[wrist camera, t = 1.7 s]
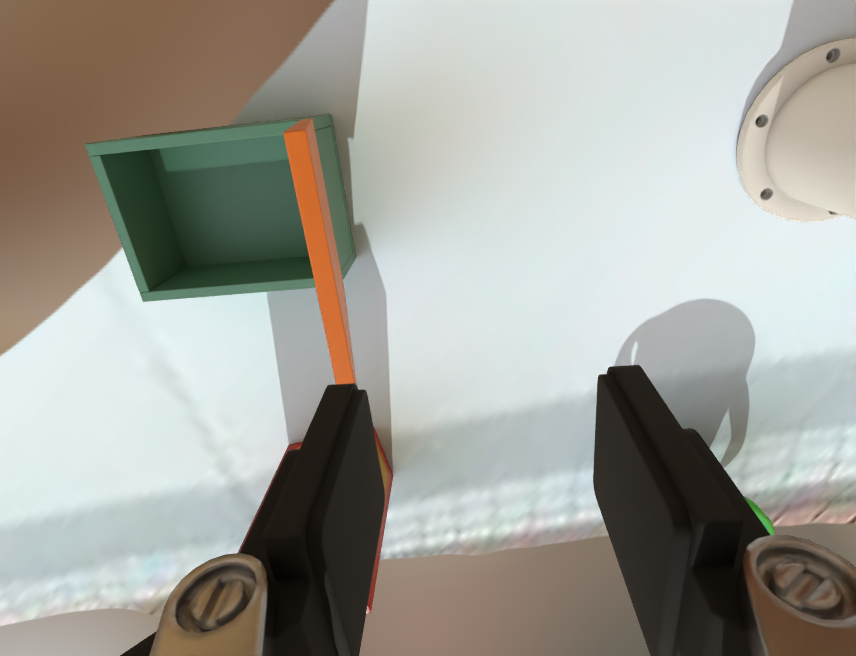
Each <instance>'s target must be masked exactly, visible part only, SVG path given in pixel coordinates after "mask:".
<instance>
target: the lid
mask: <svg viewBox="0 0 856 656" xmlns="http://www.w3.org/2000/svg"><path fill="white" fill-rule="evenodd" d="M283 135H284V139H285V144H286V149H287V154H288V158H289V163H290V168H291V172H292V177H293V182H294V187H295V191H296V196H297V201H298V206H299V210H300V215H301V220H302V225H303V229H304V234H305V239H306V244H307V248H308V253H309V258H310V262H311V267H312V272H313V277H314V281H315V286H316V291H317V296H318V300H319V305H320V310H321V315H322V319H323V324H324V329H325V333H326V338H327V343H328V348H329V352H330V357H331V362H332V367H333V371H334V376H335V381H336V384H351V383H355V384H356V377H355V369H354V361H353V354H352V346H351V338H350V331H349V323H348V315H347V308H346V300H345V292H344V285H343V280H342V274H341V269H340V264H339V258H338V253H337V247H336V242H335V237H334V231H333V226H332V221H331V215H330V210H329V204H328V199H327V194H326V188H325V183H324V178H323V172H322V167H321V161H320V156H319V151H318V145H317V140H316V135H315V129H314V124H313V119H312V118H311V119H303V120H300V121H298V122H297V123H296V124H294V125H293V126H292V127H290V128H289V129H288V130H286V131H285V132H284V133H283ZM356 386H357V385H356Z"/></svg>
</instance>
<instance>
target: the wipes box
mask: <svg viewBox="0 0 856 656" xmlns="http://www.w3.org/2000/svg"><path fill="white" fill-rule="evenodd" d="M311 118H312V119H313V124H314V129H315V135H316V140H317V145H318V151H319V156H320V161H321V167H322V172H323V178H324V183H325V188H326V194H327V199H328V204H329V210H330V215H331V221H332V226H333V231H334V237H335V242H336V247H337V253H338V258H339V264H340V269H341V274H342V280H343V279H344V277H345V275H346V274H347V272H348V270H349V269H350V267H351V265H352V264H353V262H354V260H355V259H356V256H355V250H354V245H353V239H352V233H351V227H350V221H349V215H348V209H347V204H346V198H345V192H344V186H343V180H342V174H341V169H340V163H339V157H338V151H337V145H336V139H335V133H334V128H333V122H332V116H331V114H328V115H319V116H311V117H302V118H293V119H284V120H275V121H266V122H258V123H249V124H240V125H231V126H222V127H213V128H204V129H196V130H187V131H178V132H169V133H160V134H152V135H143V136H136V137H129V138H122V139H115V140H108V141H101V142H94V143H88V144H85V146H86V149H87V152H88V154H89V156H90V160H91V163H92V165H93V168H94V171H95V173H96V176H97V179H98V181H99V184H100V187H101V189H102V192H103V195H104V198H105V200H106V203H107V206H108V208H109V211H110V214H111V217H112V219H113V222H114V225H115V227H116V230H117V233H118V235H119V238H120V241H121V244H122V246H123V249H124V252H125V254H126V257H127V260H128V262H129V265H130V268H131V271H132V273H133V276H134V279H135V281H136V284H137V287H138V289H139V292H140V295H141V297H142V300H143V302H146V301H158V300H170V299H182V298H195V297H207V296H219V295H231V294H243V293H256V292H268V291H280V290H292V289H304V288H316V286H315V281H314V277H313V272H312V267H311V262H310V258H309V253H308V248H307V244H306V239H305V234H304V229H303V225H302V220H301V215H300V210H299V206H298V201H297V196H296V191H295V187H294V182H293V177H292V172H291V168H290V163H289V158H288V154H287V149H286V144H285V139H284V135H283V133H284V132H285V131H286V130H288V129H289V128H290V127H292V126H293V125H294V124H296V123H297V122H298V121H300V120H303V119H311Z"/></svg>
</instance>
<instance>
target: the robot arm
mask: <svg viewBox="0 0 856 656" xmlns="http://www.w3.org/2000/svg"><path fill="white" fill-rule="evenodd" d="M827 54H828V57H827ZM826 57H827V59H826ZM757 118H759V119H758V122H757V123H756V119H757ZM737 168H738V173H739V178H740V181H741V183H742V185H743V187H744V190H745V192H746V193H747V194H748V196H749V197H750V198H751V199H752V201H753V202H754V203H755V204H757V205H758V206H759V207H760V208H762V209H763V210H764V211H766V212H769V213H771V214H773V215H775V216H778V217H781V218H784V219H787V220H790V221H798V222H815V221H824V220H828V219H833V218H836V217H839V216H842V215H844V216H847V217H850V218H853V219H856V38H851V39H844V40H838V41H834V42H831V43H828V44H824V45H821V46H818V47H816V48H814V49H812V50H810V51H808V52H806V53H804V54H802V55H801V56H799V57H798V58H796V59H795V60H793V61H792V62H790V63H789V64H788V65H786V66H785V67H784V68H783V69H781V70H780V71H779V72H778V73H777V74H776V75H775V76H774V77H773V78H772V79H771V80H770V81H769V82H768V83H767V85H766V86H765V87H764V88H763V90H762V91H761V92H760V93H759V95H758V96H757V97H756V99H755V101H754V102H753V104H752V106H751V108H750V109H749V111H748V113H747V115H746V117H745V120H744V123H743V125H742V128H741V130H740V135H739V140H738V145H737ZM762 191H763V193H762V194H761V192H762ZM593 483H594V491H595V495H596V499H597V502H598V505H599V508H600V510H601V513H602V516H603V519H604V522H605V525H606V528H607V531H608V534H609V537H610V539H611V542H612V545H613V548H614V551H615V554H616V557H617V559H618V562H619V566H620V568H621V571H622V574H623V577H624V580H625V583H626V586H627V589H628V592H629V595H630V598H631V600H632V603H633V606H634V609H635V612H636V615H637V618H638V621H639V624H640V627H641V630H642V632H643V635H644V638H645V641H646V644H647V647H648V650H649V652H650V655H651V656H856V567H855V566H854V565H853V564H852V563H851V562H849V561H848V560H847V559H845V558H844V557H842V556H840V555H839V554H837V553H835V552H834V551H832V550H831V549H829V548H827V547H824V546H822V545H820V544H817V543H815V542H812V541H810V540H806V539H802V538H797V537H794V536H788V535H786V536H785V535H770V533H769V532H768V531H767V529H766V528H765V526H764V525H763V523H762V522H761V521H760V519H759V518H758V516H757V515H756V514H755V512H754V511H753V509H752V508H751V507H750V505H749V504H748V502H747V501H746V499H745V498H744V497H743V495H742V494H741V492H740V491H739V490H738V488H737V487H736V485H735V484H734V482H733V481H732V480H731V478H730V477H729V475H728V474H727V473H726V471H725V470H724V468H723V467H722V466H721V464H720V463H719V461H718V460H717V458H716V457H715V456H714V454H713V453H712V451H711V450H710V449H709V447H708V446H707V444H706V443H705V441H704V440H703V439H702V437H701V436H700V435H699V434H698V433H697V431H696V430H694V429H691V428H687V429H682V428H681V426H680V425H679V423H678V422H677V420H676V419H675V417H674V416H673V414H672V413H671V411H670V410H669V408H668V407H667V405H666V404H665V402H664V401H663V399H662V398H661V396H660V395H659V393H658V392H657V390H656V389H655V387H654V386H653V384H652V383H651V381H650V380H649V378H648V377H647V375H646V374H645V372H644V371H643V369H642V368H641V367H640V366H639V365H631V366H616V367H609V368H608V371H607V374H603V375H599V377H598V384H597V406H596V429H595V451H594V474H593ZM384 505H385V490H384V484H383V478H382V473H381V467H380V462H379V456H378V451H377V445H376V440H375V434H374V429H373V423H372V418H371V412H370V407H369V402H368V396H367V392H366V390H358V388H357V386H356V384H355V383H351V384H336V385H328V386H327V388H326V390H325V392H324V394H323V397H322V399H321V401H320V403H319V406H318V408H317V410H316V413H315V415H314V417H313V420H312V422H311V424H310V426H309V429H308V431H307V433H306V436H305V438H304V440H303V443H302V445H301V447H300V449H291V450H290V451H288V452H287V454H286V455H285V457H284V459H283V461H282V463H281V465H280V467H279V470H278V472H277V474H276V476H275V478H274V480H273V482H272V485H271V487H270V489H269V491H268V493H267V495H266V497H265V500H264V502H263V504H262V506H261V508H260V510H259V512H258V515H257V517H256V519H255V521H254V523H253V525H252V527H251V530H250V532H249V534H248V536H247V538H246V540H245V542H244V545H243V547H242V549H241V551H240V553H237V554H227V555H223V556H220V557H217V558H214V559H211V560H209V561H207V562H205V563H204V564H202V565H200V566H198V567H197V568H195V569H194V570H192V571H191V572H190V573H189V574H188V575H187V576H185V577H184V578H183V579H182V580H181V581H180V582H179V584H178V585H177V586H176V587H175V589H174V590H173V591H172V592H171V594H170V596H169V598H168V600H167V602H166V605H165V607H164V610H163V613H162V616H161V620H160V623H159V627H158V629H157V631H156V632H155V633H153V634H152V635H150V636H149V637H147V638H146V639H144V640H143V641H141V642H140V643H138V644H137V645H135V646H134V647H133V648H131V649H130V650H128V651H126V652H125V653H123V654H122V655H120V656H359V652H360V646H361V640H362V634H363V629H364V623H365V616H366V611H367V605H368V599H369V594H370V588H371V582H372V576H373V570H374V564H375V559H376V553H377V547H378V541H379V535H380V529H381V523H382V518H383V512H384Z"/></svg>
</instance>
